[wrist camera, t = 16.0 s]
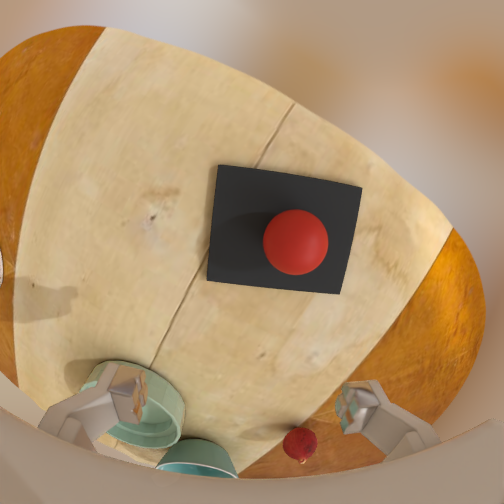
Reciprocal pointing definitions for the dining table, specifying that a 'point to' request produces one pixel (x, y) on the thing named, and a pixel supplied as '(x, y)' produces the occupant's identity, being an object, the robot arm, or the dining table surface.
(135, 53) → the dining table surface
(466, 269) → the dining table surface
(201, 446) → the bowl
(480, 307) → the dining table surface
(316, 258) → the red ball
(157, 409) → the fruit bowl
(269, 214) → the mat
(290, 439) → the onion
